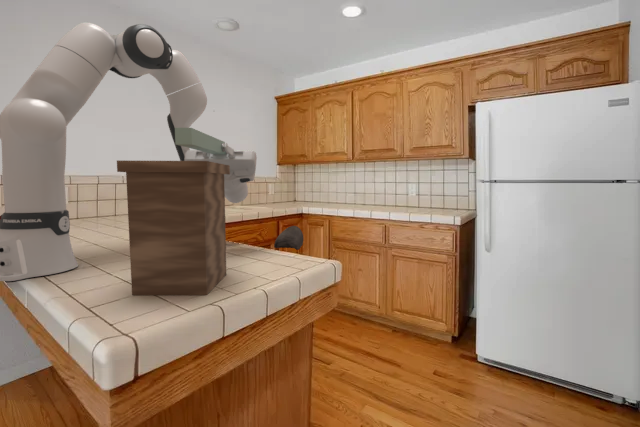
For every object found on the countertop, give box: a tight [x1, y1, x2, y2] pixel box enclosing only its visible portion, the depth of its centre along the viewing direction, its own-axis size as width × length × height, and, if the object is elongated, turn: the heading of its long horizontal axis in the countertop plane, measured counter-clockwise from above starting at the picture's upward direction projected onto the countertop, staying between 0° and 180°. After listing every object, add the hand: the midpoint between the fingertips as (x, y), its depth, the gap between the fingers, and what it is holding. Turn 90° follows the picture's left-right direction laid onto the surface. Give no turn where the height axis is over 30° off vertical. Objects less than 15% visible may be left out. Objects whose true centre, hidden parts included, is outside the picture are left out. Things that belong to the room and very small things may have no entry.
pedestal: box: [116, 160, 230, 296], centre depth 69 cm, size 16×16×25 cm
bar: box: [174, 127, 226, 154], centre depth 82 cm, size 26×3×3 cm, turn 1°
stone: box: [273, 225, 304, 251], centre depth 109 cm, size 10×8×10 cm
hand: (214, 145), depth 91 cm, fingers closed on bar, 3 cm apart
